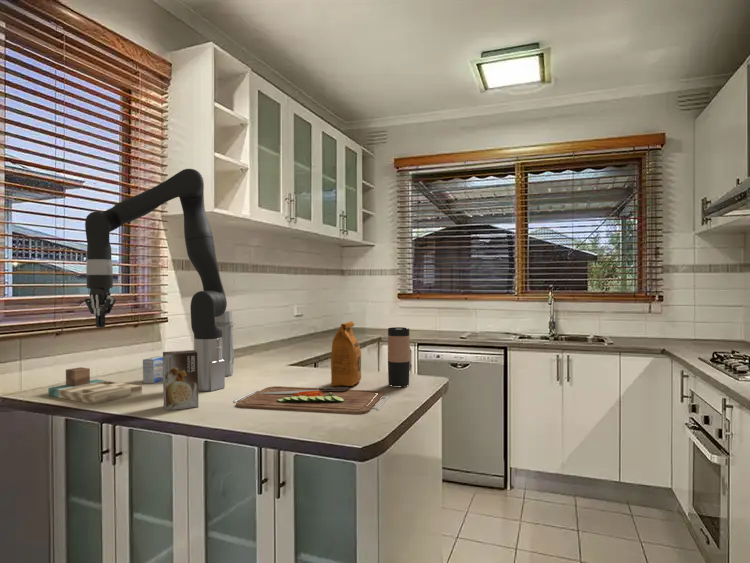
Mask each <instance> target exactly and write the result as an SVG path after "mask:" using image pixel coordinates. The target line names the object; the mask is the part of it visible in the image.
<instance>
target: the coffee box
mask: <svg viewBox="0 0 750 563" xmlns="http://www.w3.org/2000/svg"><path fill="white" fill-rule="evenodd" d="M162 356H163V381H162V382H163V384H162V385H163V386H162V387H163V389H162V390H163V407H164V410H165V411H167V412H169V411H175V410H182V409H183V410H184V409H191V408H198V407H199V405H200V404H199V391H198V355H197V352H196V351H195V350H194V349H192V350H189V349H187V350H174V351H171V350H170V351H162Z"/></svg>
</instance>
